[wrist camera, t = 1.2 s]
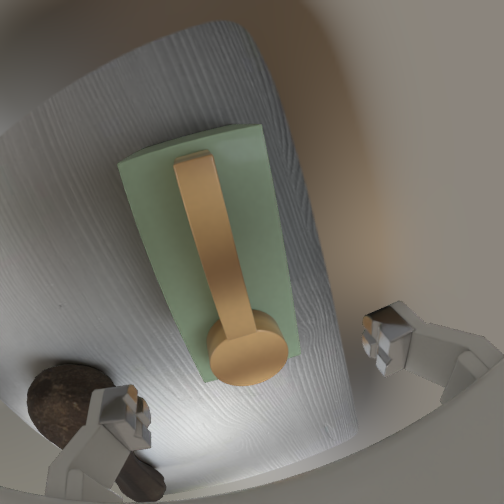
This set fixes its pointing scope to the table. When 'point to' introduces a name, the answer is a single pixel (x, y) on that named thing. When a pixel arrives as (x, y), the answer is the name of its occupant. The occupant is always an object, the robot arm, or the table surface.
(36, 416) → the dark brown bone
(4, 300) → the table surface
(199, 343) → the sage green box
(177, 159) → the spoon
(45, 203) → the table surface
